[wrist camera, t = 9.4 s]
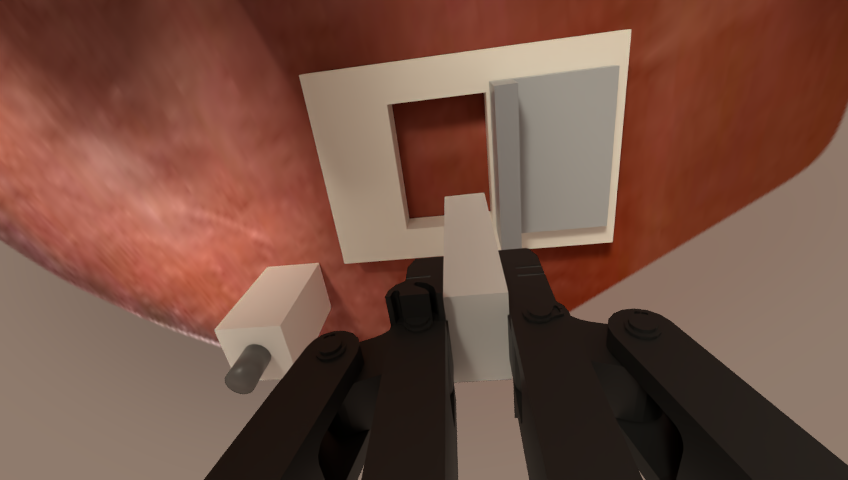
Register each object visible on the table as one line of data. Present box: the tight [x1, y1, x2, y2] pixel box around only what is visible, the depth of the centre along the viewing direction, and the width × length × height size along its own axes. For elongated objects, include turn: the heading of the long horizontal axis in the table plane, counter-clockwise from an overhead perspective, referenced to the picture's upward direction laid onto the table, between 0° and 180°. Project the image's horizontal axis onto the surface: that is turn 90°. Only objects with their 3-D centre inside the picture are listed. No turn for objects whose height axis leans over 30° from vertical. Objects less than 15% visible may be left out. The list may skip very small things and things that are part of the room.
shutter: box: [489, 65, 620, 250], centre depth 23 cm, size 7×10×3 cm
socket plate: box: [299, 29, 631, 264], centre depth 26 cm, size 19×13×2 cm
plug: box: [214, 263, 331, 394], centre depth 28 cm, size 4×4×10 cm
